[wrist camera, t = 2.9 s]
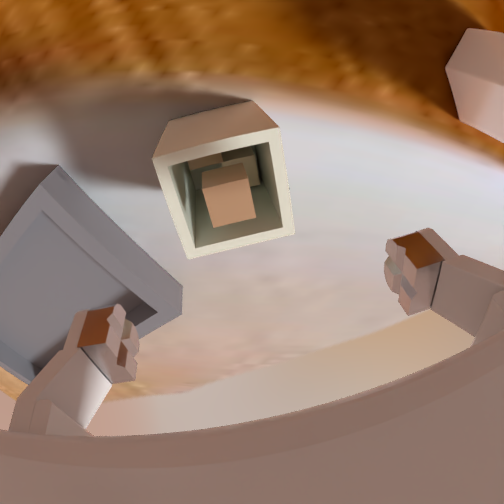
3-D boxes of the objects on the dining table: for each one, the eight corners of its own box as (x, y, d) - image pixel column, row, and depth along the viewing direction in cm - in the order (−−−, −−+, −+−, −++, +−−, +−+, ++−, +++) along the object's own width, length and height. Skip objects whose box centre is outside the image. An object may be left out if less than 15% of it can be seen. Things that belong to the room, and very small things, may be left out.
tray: (-39, 306, 22) (-50, 326, 20) (58, 165, 17) (39, 183, 15) (48, 372, 29) (42, 393, 27) (182, 286, 24) (181, 314, 22)
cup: (168, 120, 17) (149, 162, 11) (252, 100, 17) (282, 130, 11) (190, 193, 20) (187, 266, 14) (266, 175, 20) (297, 240, 14)
